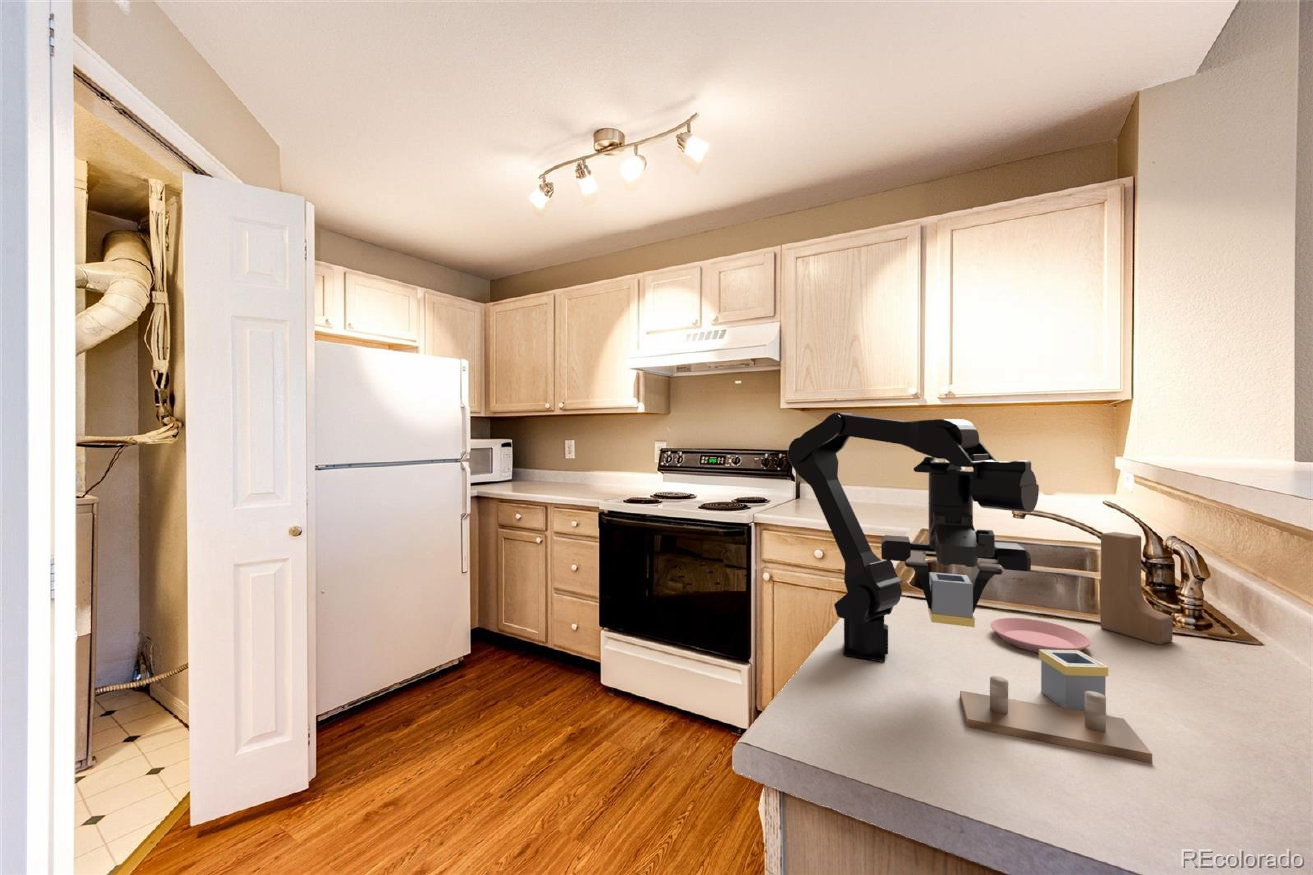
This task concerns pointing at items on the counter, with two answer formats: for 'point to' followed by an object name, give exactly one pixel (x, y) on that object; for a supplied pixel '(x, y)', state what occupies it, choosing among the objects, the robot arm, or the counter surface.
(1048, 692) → the sleeve band up
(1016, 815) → the counter surface
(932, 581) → the sleeve band down
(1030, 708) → the pin board
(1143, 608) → the wooden block
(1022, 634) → the plate
